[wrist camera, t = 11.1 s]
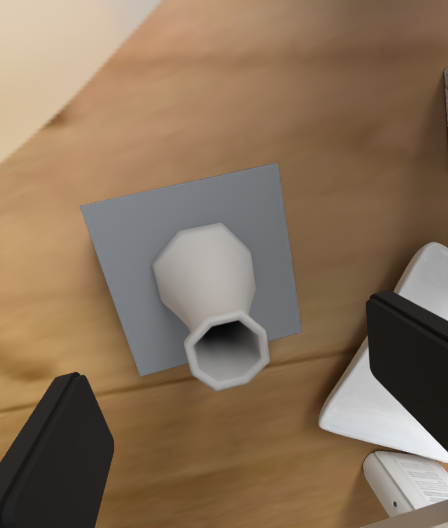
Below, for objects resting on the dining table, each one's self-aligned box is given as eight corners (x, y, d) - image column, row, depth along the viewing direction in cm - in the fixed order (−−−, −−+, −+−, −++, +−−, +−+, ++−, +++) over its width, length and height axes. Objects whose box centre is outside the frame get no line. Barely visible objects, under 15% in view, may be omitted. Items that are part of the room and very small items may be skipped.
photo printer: (355, 473, 35) (445, 619, 23) (369, 446, 34) (469, 583, 22) (422, 479, 37) (534, 616, 25) (436, 454, 36) (560, 583, 24)
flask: (225, 203, 19) (273, 220, 9) (271, 290, 21) (346, 375, 12) (132, 256, 19) (83, 327, 9) (187, 337, 21) (192, 462, 12)
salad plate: (439, 445, 36) (465, 470, 33) (302, 406, 31) (316, 432, 28) (539, 302, 33) (579, 315, 29) (401, 231, 27) (430, 237, 24)
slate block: (101, 201, 22) (79, 205, 18) (257, 167, 23) (277, 162, 19) (147, 341, 26) (140, 376, 21) (280, 306, 27) (302, 332, 22)
